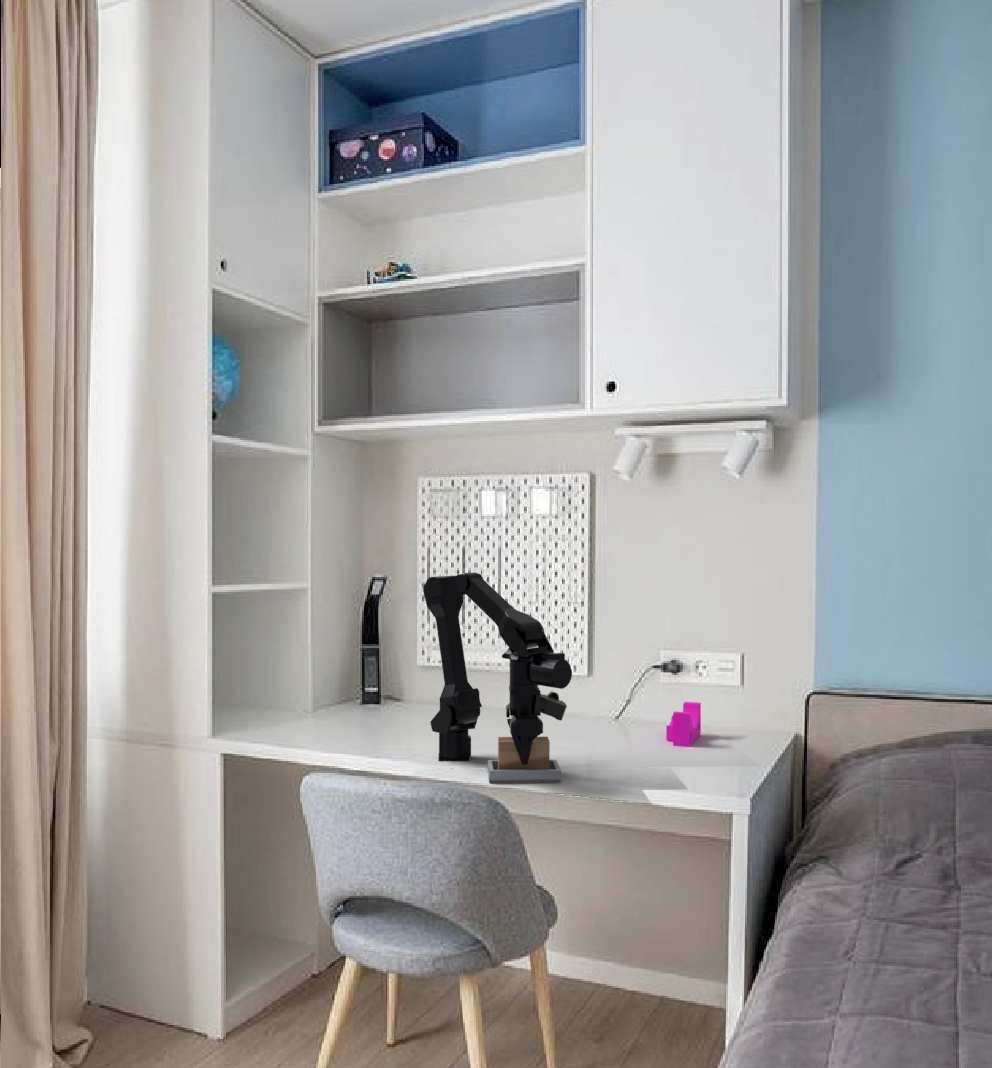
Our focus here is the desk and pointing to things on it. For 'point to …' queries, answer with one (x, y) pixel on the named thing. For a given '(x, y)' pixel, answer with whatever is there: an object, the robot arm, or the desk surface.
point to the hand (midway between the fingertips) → (523, 760)
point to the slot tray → (524, 774)
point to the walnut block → (511, 759)
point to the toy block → (685, 725)
